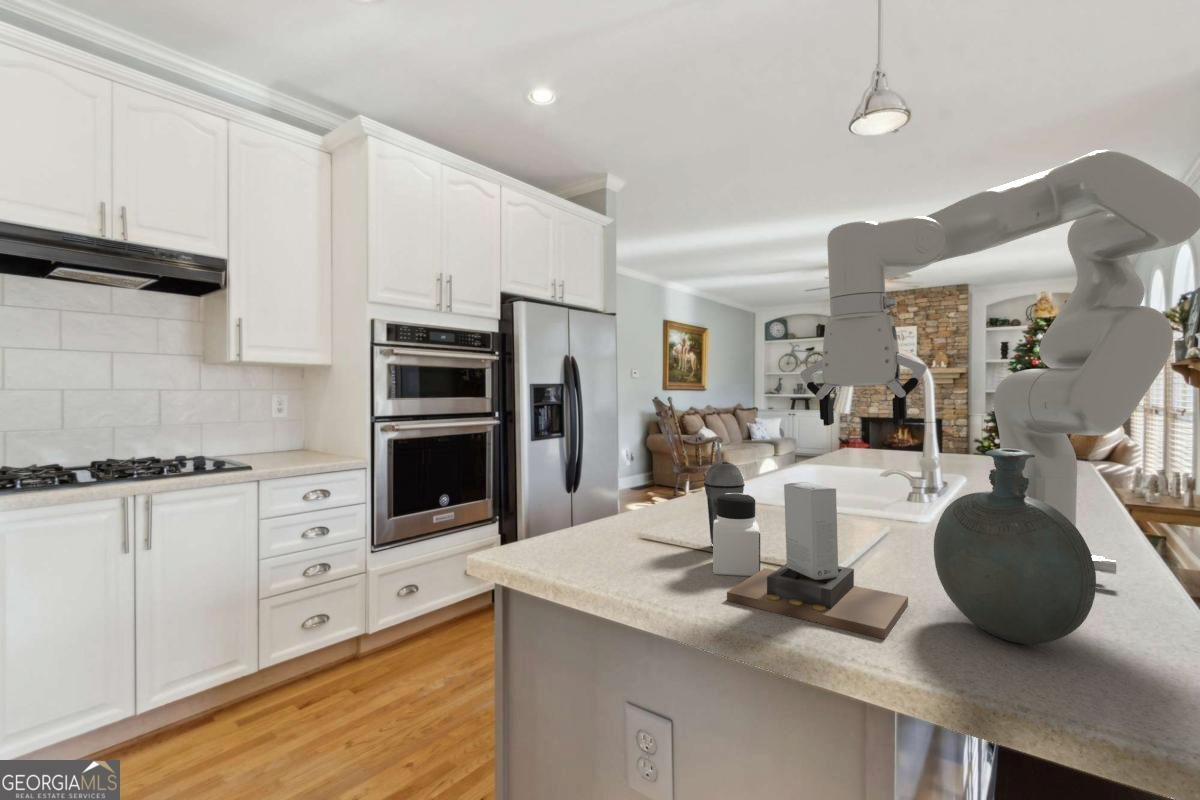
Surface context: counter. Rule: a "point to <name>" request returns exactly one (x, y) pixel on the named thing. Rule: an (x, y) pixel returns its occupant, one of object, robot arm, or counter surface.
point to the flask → (1014, 559)
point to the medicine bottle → (736, 536)
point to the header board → (822, 600)
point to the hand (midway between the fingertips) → (862, 424)
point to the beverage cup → (721, 485)
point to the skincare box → (811, 530)
